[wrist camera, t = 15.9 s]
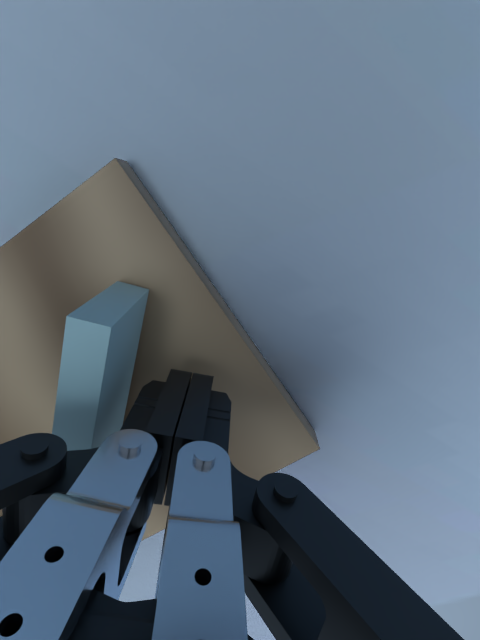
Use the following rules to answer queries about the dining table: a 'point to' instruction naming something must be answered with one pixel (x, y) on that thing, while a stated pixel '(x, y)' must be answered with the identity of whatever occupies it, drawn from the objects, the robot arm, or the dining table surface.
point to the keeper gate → (98, 365)
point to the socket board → (157, 329)
